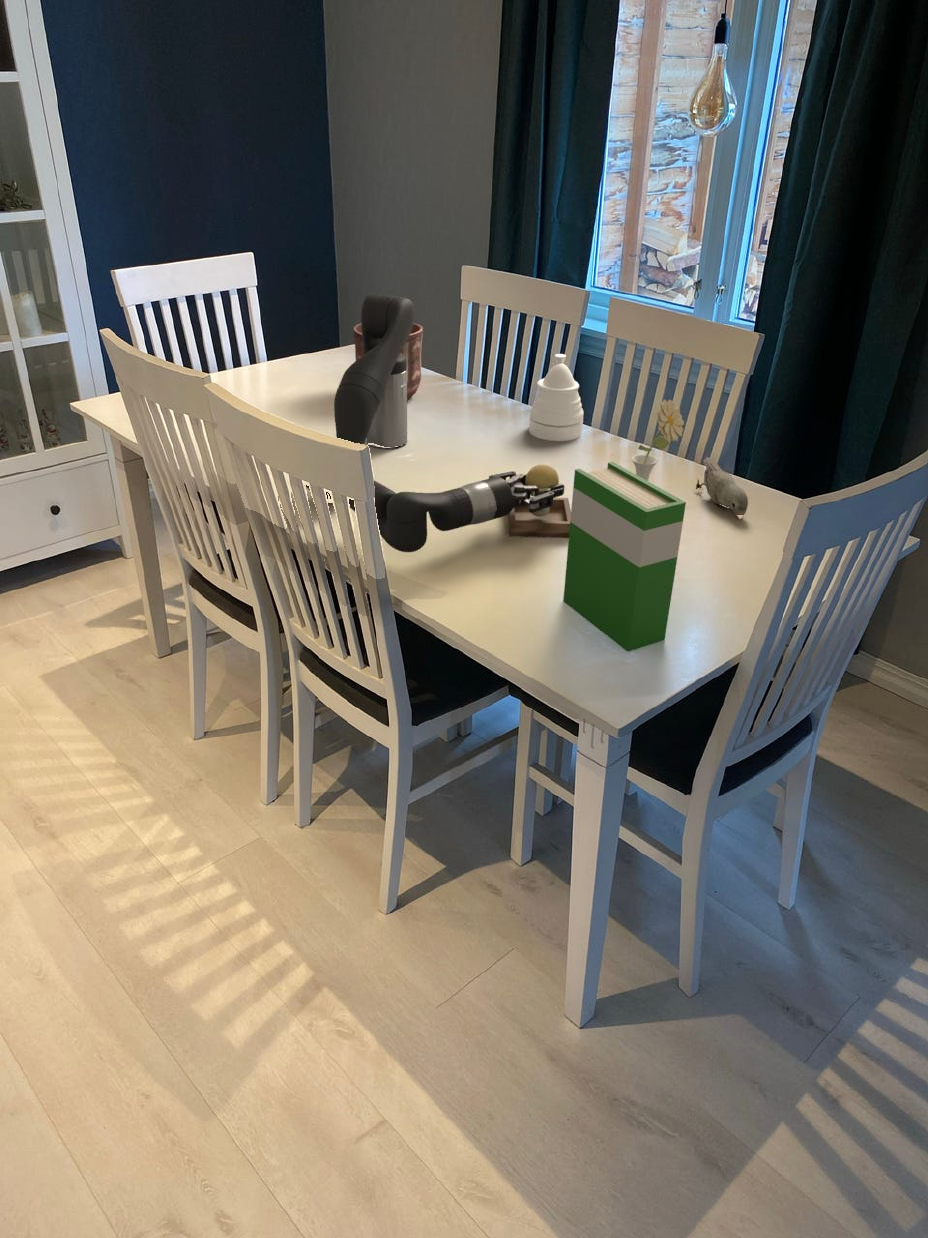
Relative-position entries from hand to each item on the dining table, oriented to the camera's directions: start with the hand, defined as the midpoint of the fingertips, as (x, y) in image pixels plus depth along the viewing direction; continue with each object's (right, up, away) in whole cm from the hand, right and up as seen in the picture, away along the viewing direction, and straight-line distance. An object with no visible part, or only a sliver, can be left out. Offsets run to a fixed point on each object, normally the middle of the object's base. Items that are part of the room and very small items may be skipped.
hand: (551, 482), depth 187 cm
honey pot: (+5, +19, +48) cm, 52 cm away
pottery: (-36, +32, +67) cm, 83 cm away
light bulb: (-2, -6, +2) cm, 7 cm away
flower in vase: (+18, -8, +4) cm, 20 cm away
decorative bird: (+36, -3, +13) cm, 39 cm away
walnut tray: (-2, -8, +3) cm, 8 cm away
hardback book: (+8, -27, -28) cm, 39 cm away
